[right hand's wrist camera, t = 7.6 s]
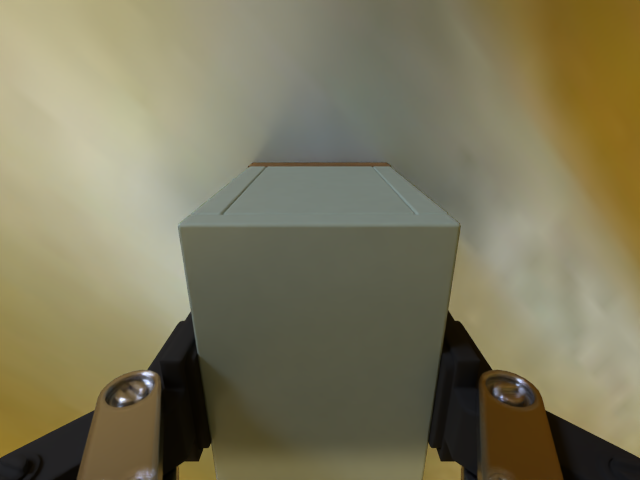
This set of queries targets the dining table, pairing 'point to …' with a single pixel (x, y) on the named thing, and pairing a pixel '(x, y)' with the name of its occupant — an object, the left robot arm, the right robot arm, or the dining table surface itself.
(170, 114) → the dining table surface
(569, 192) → the dining table surface
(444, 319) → the cabinet
